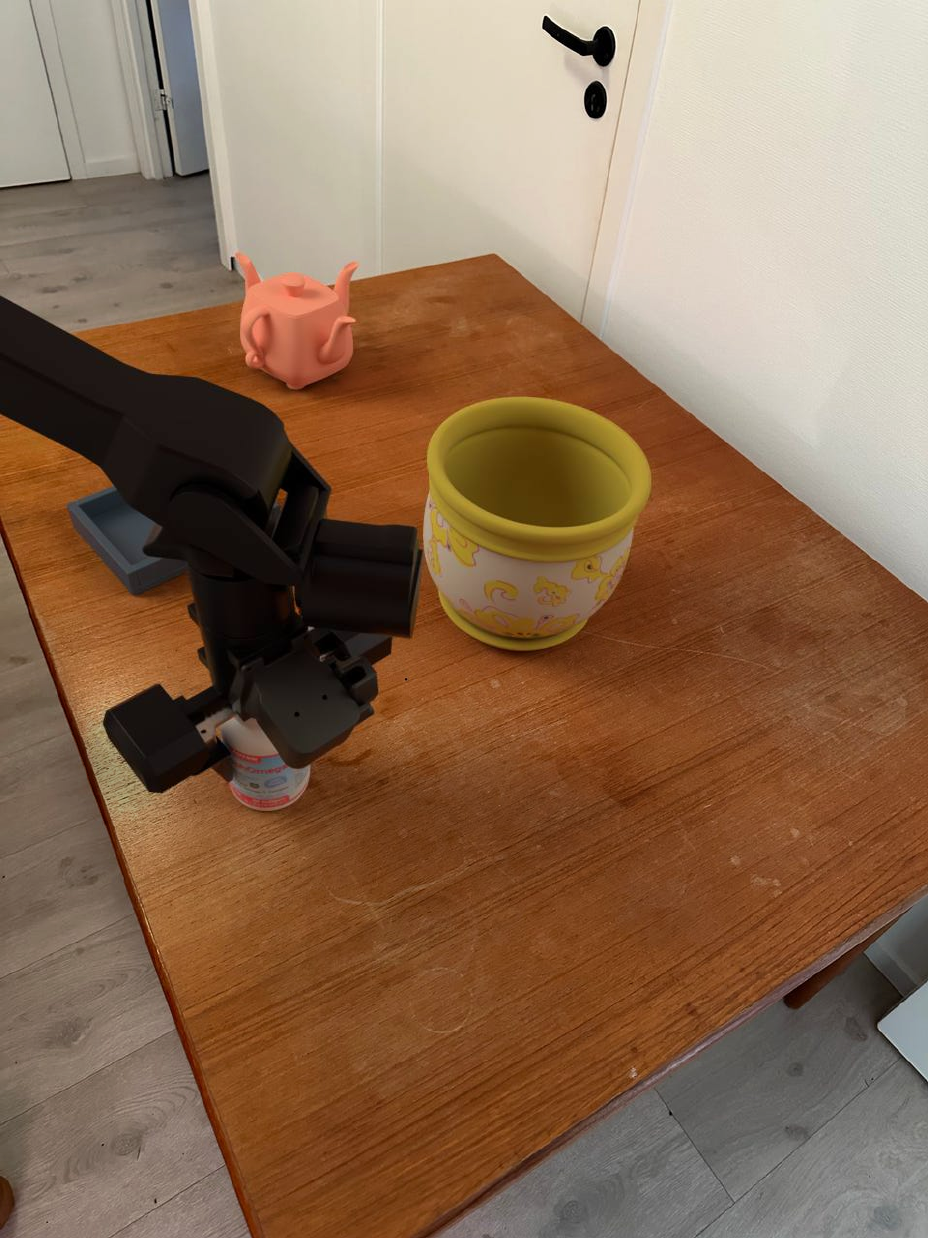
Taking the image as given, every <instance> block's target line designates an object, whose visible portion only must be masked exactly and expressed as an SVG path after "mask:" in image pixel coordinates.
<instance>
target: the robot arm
mask: <svg viewBox="0 0 928 1238" xmlns="http://www.w3.org/2000/svg"><path fill="white" fill-rule="evenodd" d="M0 415H1V416H3V417H5V418H7V419H9V420H11V421H13V422H15V423H17V424H19V425H21V426H23V427H25V428H27V429H29V430H31V431H33V432H35V433H37V434H39V435H40V436H43V437H45V438H47V439H49V440H51V441H53V442H55V443H57V444H59V445H61V446H63V447H64V448H67V449H69V450H71V451H73V452H75V453H77V454H78V455H80V456H81V457H83V458H85V459H86V460H89V461H90V462H91V463H93V464H94V465H95V466H97V467H99V468H100V469H101V470H102V472H103V473H104V475H105V476H106V478H107V479H108V480H109V481H110V482H111V484H112V486H115V488H116V489H117V490H118V492H119V493H120V494H121V496H122V497H123V498H124V500H125V501H126V502H127V504H128V505H129V506H130V507H132V508H133V509H135V510H136V511H138V512H139V513H141V514H143V515H144V516H146V517H147V518H149V519H150V520H152V521H154V522H155V524H154V526H153V528H152V530H151V532H150V534H149V536H148V538H147V540H146V542H145V544H144V546H143V548H142V551H143V553H144V554H145V555H147V556H149V557H156V558H164V559H173V560H181V561H184V562H186V567H187V576H188V580H189V584H190V589H191V594H192V598H193V602H191V603H189V604H187V605H186V607H187V608H186V609H187V613H188V616H189V618H190V619H191V621H192V622H194V623H195V625H196V626H197V627H198V628H199V631H200V636H201V640H202V644H203V646H201V647H199V648H198V649H196V651H197V656H198V660H199V661H200V662H201V663H202V665H203V666H204V667H205V668H206V669H207V670H208V672H209V673H208V674H209V677H210V682H211V686H209V687H207V688H205V689H204V690H202V691H200V692H198V693H196V694H195V695H193V696H191V697H189V698H188V699H187V698H185V696H184V695H183V694H181V695H180V696H178V697H176V698H173V697H172V696H171V695H170V694H169V693H168V692H167V690H166V689H165V688H164V687H163V686H162V684H161V683H154V684H153V685H150V686H149V687H147V688H145V689H143V690H141V691H140V692H138V693H136V694H134V695H131V696H129V697H128V698H127V699H124V700H123V701H121V702H119V703H117V704H115V705H113V706H111V707H109V708H108V709H106V710H105V713H104V716H103V719H102V726H103V729H104V731H105V733H106V736H107V739H108V740H109V741H110V742H111V744H112V745H113V746H114V748H115V749H116V751H117V752H118V754H119V755H120V756H121V757H122V759H123V760H124V761H125V763H126V764H127V765H128V767H129V768H130V769H131V771H132V772H133V773H134V775H135V776H136V777H137V779H138V780H139V781H140V783H141V784H142V785H143V787H144V788H145V789H146V791H147V792H148V793H150V794H151V793H152V794H163V793H165V792H167V791H169V790H170V789H172V788H174V787H175V786H177V785H179V784H180V783H182V782H184V781H185V780H187V779H188V778H190V777H197V776H200V775H201V774H202V773H204V772H206V771H208V770H209V769H211V770H213V771H214V772H215V773H217V774H218V775H219V776H220V777H221V778H222V779H223V780H224V781H225V782H226V783H228V784H229V782H231V781H232V780H233V771H232V768H231V765H230V763H229V760H228V758H227V757H229V756H230V755H232V753H231V752H230V751H229V750H228V749H227V747H226V746H225V745H224V744H223V743H222V739H220V738H219V737H218V735H217V731H216V730H217V728H218V727H220V725H222V724H223V723H225V722H227V721H228V720H230V719H232V718H234V717H235V716H237V715H238V716H239V717H240V718H241V719H242V720H243V722H245V721H247V720H248V719H250V718H253V719H256V721H257V723H258V724H259V726H260V727H261V729H262V730H263V732H264V733H265V735H266V736H267V737H268V739H269V740H270V742H271V743H272V744H273V746H274V747H275V749H276V750H277V752H278V753H279V755H280V757H281V759H282V760H283V762H284V763H285V764H286V765H287V766H289V767H291V768H293V769H302V768H305V767H306V766H308V765H310V766H311V765H312V763H314V762H315V761H317V760H318V759H319V758H321V757H323V756H324V755H325V754H327V753H328V752H330V751H332V750H333V749H335V748H337V747H338V746H340V745H342V744H344V743H345V742H346V741H347V740H348V739H349V738H350V736H351V734H352V732H353V730H354V729H355V727H357V726H358V725H360V724H361V723H363V722H365V721H366V720H367V719H369V718H370V717H372V716H373V715H375V710H374V708H373V706H372V704H371V703H372V702H374V701H375V700H376V699H377V696H378V695H379V682H378V681H379V680H378V673H377V671H376V669H375V668H374V667H373V666H374V665H375V664H377V663H379V662H380V661H382V660H384V659H385V658H387V657H388V656H390V655H392V650H393V638H398V639H399V638H400V639H407V640H408V639H409V640H412V638H413V634H414V630H415V625H416V620H417V614H418V605H419V600H420V592H421V591H420V590H421V582H422V574H423V573H422V572H423V560H424V559H423V558H424V548H421V542H420V539H418V534H419V533H418V532H419V530H418V528H416V526H414V525H406V524H405V525H403V524H394V523H392V524H391V523H390V524H373V523H363V522H358V521H357V522H356V521H348V520H340V519H331V518H328V508H327V507H328V504H329V502H330V501H329V500H330V498H331V494H332V491H333V489H332V487H331V486H330V484H329V483H328V482H327V481H326V480H325V479H324V477H322V475H321V474H320V473H319V472H318V471H317V469H316V468H314V466H312V464H311V463H310V462H309V461H308V460H307V459H306V457H305V456H304V455H303V454H302V453H301V452H300V451H299V450H298V449H297V447H296V446H295V445H294V444H293V443H292V442H291V441H290V439H289V437H288V434H287V432H286V430H285V423H284V421H283V420H282V419H281V418H280V417H279V416H278V415H277V413H276V412H274V411H273V410H271V408H268V406H266V405H265V404H263V403H261V402H259V401H258V400H255V399H253V398H251V397H248V396H246V395H244V394H241V393H238V392H236V391H233V390H231V389H228V388H226V387H223V386H221V385H218V384H216V383H214V382H210V381H208V380H206V379H203V378H201V377H198V376H188V375H187V376H186V375H176V374H175V375H173V374H163V373H162V374H161V373H152V372H147V371H145V370H142V369H141V368H137V367H135V366H133V365H130V364H127V363H126V362H123V361H121V360H120V359H118V358H115V357H114V356H112V355H110V354H108V353H106V351H103V350H101V349H99V348H98V347H96V346H93V345H92V344H90V343H88V342H86V341H85V340H83V339H81V338H79V337H77V336H76V335H74V334H72V333H70V332H68V331H67V330H64V329H63V328H61V327H59V326H58V325H56V324H54V323H52V322H50V321H49V320H46V319H44V318H43V317H41V316H40V315H37V314H36V313H34V312H32V311H30V310H28V309H26V308H24V307H23V306H21V305H19V304H17V303H15V302H13V301H12V300H10V299H8V298H6V297H4V296H2V295H1V294H0ZM280 490H282V491H283V492H285V493H286V494H285V498H284V500H283V502H282V505H281V507H280V513H279V516H278V519H277V522H275V521H273V520H271V519H269V517H270V514H271V511H272V509H273V506H274V503H275V501H276V500H277V498H278V495H279V492H280ZM276 502H277V501H276ZM296 608H298V612H296Z"/></svg>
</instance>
